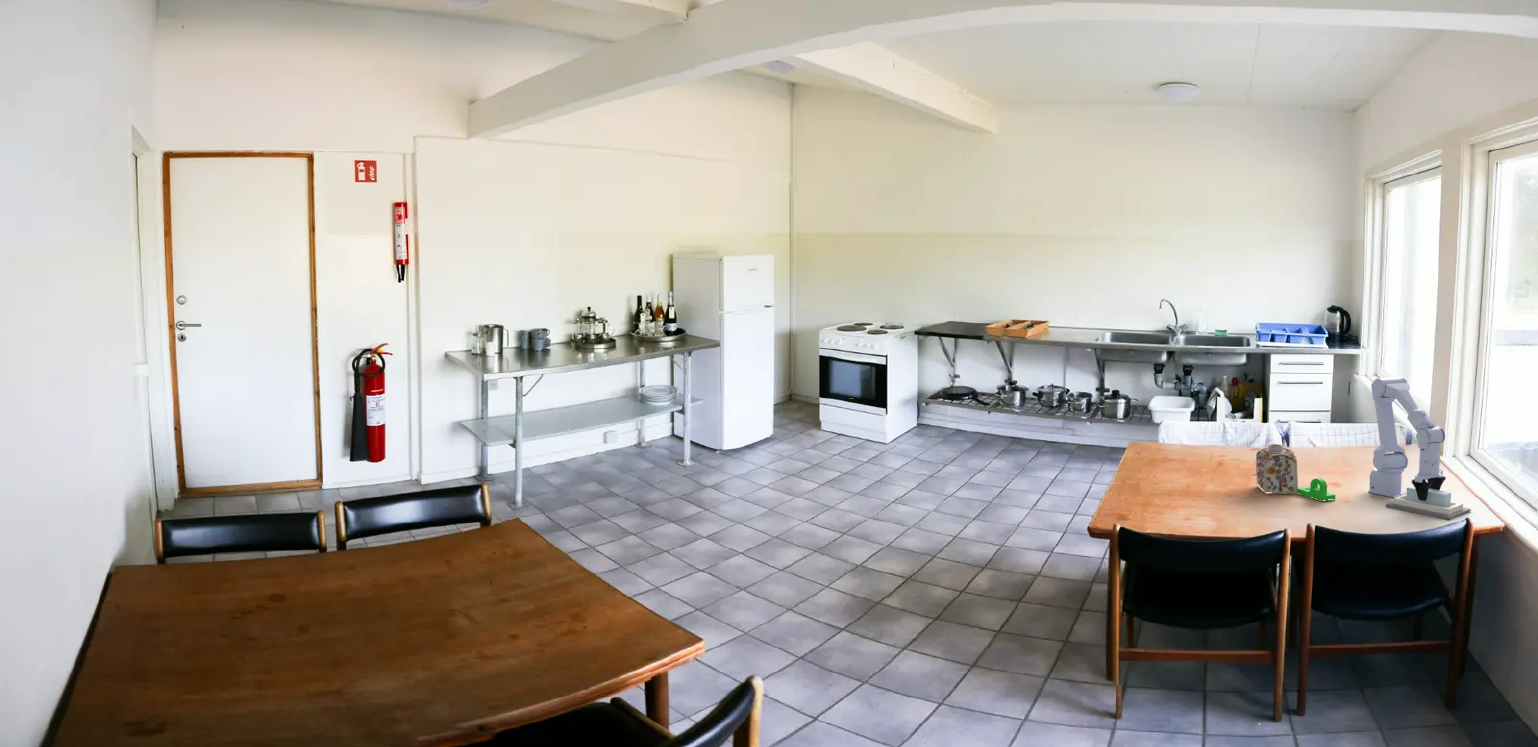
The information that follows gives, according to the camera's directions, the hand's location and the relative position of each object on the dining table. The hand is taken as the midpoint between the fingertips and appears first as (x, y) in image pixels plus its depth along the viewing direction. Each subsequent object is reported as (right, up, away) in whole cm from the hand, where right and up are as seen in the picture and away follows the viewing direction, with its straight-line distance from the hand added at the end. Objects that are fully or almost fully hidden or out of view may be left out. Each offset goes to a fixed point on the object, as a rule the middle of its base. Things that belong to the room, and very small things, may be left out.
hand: (1427, 498), depth 314 cm
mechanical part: (-26, -3, +22) cm, 34 cm away
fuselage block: (0, -3, 0) cm, 3 cm away
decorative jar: (-35, -2, +32) cm, 48 cm away
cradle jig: (0, -4, +1) cm, 4 cm away
